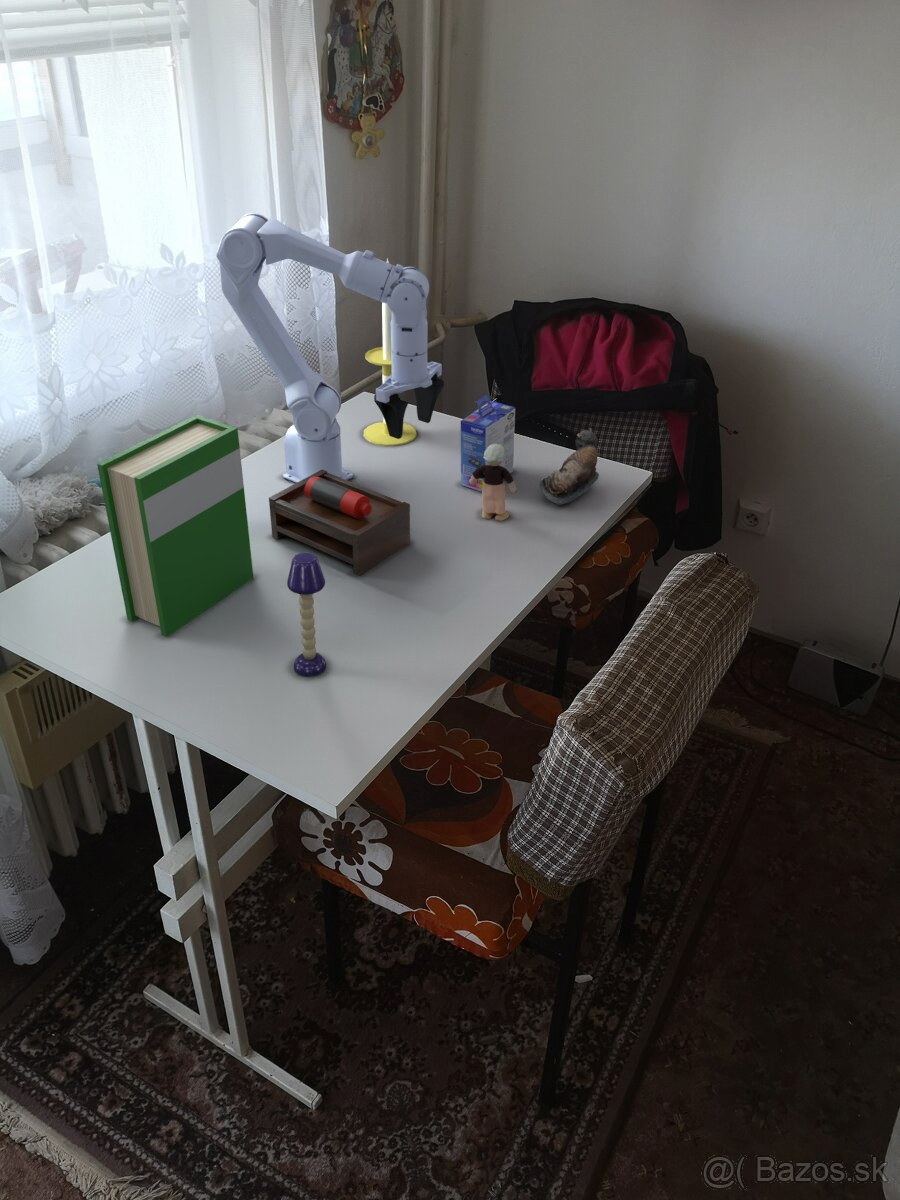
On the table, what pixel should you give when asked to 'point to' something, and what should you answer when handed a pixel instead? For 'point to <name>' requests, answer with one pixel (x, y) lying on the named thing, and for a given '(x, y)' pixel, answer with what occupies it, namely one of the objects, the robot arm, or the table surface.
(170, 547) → the hardback book
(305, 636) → the toy lamp
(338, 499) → the thermos
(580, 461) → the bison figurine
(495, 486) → the grandmother figurine
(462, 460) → the ink cartridge box
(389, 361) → the candle
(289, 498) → the shelf
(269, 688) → the table surface
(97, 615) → the table surface
